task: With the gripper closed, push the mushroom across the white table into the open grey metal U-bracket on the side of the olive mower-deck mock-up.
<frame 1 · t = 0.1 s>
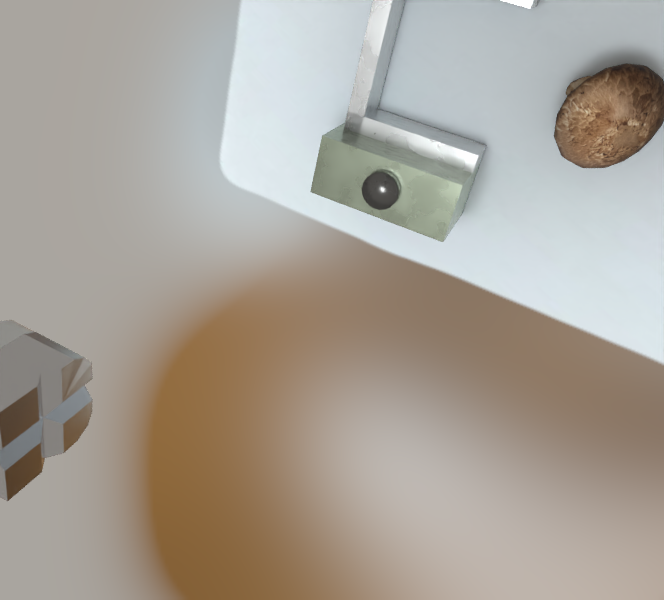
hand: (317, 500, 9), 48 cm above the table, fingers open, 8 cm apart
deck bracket: (450, 61, 51), on the table
mushroom: (610, 110, 49), on the table
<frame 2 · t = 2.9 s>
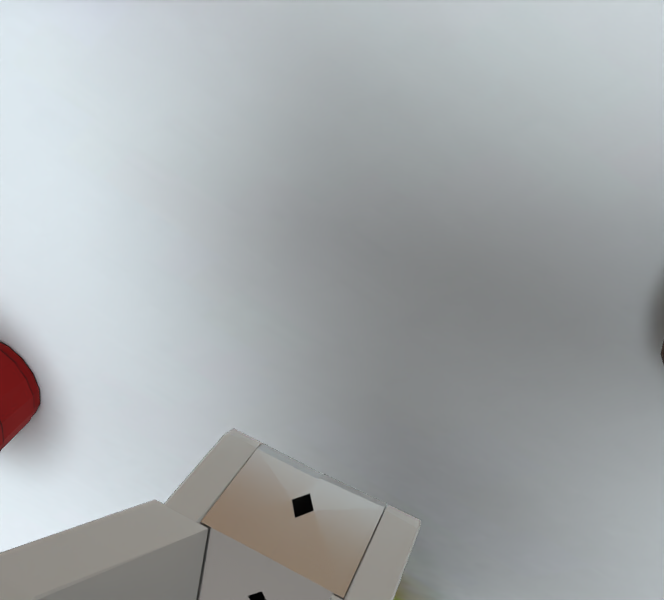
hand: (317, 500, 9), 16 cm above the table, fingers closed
plastic cup: (6, 373, 39), on the table
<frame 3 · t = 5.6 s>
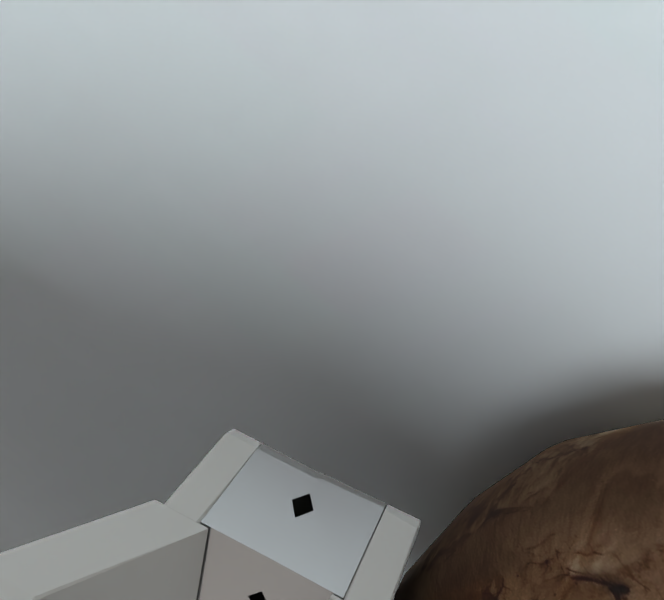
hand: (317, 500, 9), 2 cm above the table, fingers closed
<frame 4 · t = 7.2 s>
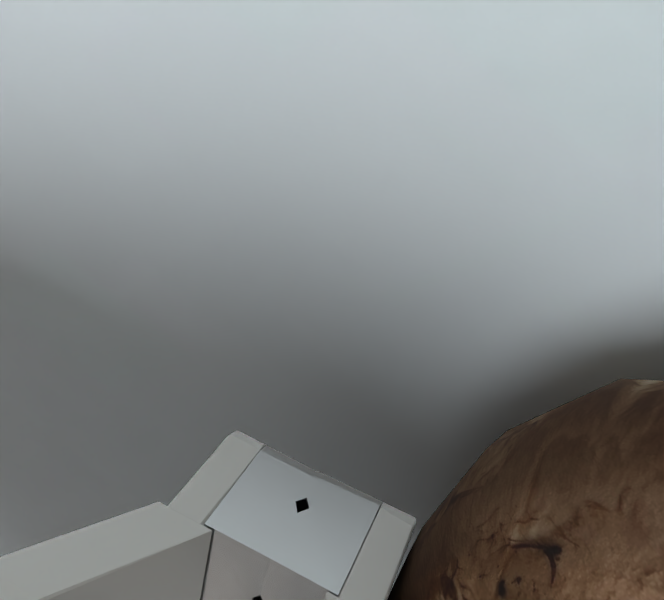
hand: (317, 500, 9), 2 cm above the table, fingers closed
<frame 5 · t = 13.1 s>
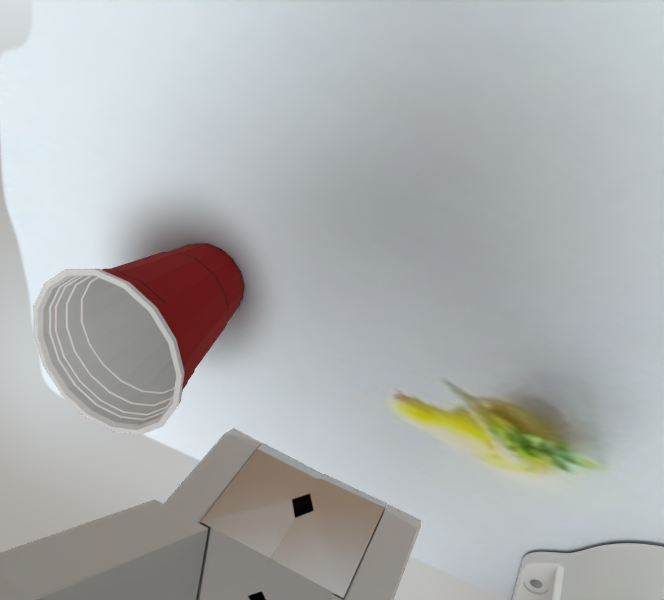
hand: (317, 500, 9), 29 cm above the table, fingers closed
plastic cup: (212, 274, 47), on the table
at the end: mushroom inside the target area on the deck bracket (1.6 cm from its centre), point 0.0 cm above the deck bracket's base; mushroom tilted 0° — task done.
